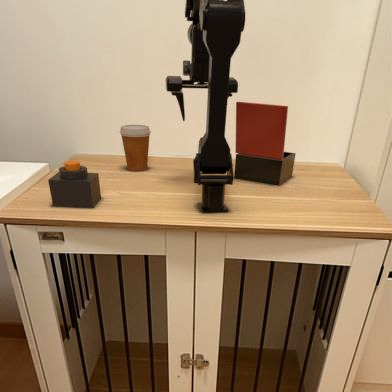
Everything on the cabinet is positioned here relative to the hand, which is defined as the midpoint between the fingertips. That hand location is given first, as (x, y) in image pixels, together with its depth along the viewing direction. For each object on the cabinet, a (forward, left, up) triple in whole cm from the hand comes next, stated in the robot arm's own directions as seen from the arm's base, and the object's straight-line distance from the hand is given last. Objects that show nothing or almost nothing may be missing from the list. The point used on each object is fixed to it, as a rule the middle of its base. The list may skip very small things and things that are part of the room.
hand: (200, 121), depth 113 cm
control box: (-17, +35, -16) cm, 42 cm away
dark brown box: (+2, -21, -16) cm, 26 cm away
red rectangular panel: (-4, -17, -2) cm, 17 cm away
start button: (-17, +35, -8) cm, 40 cm away
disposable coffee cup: (+16, +17, -16) cm, 28 cm away
